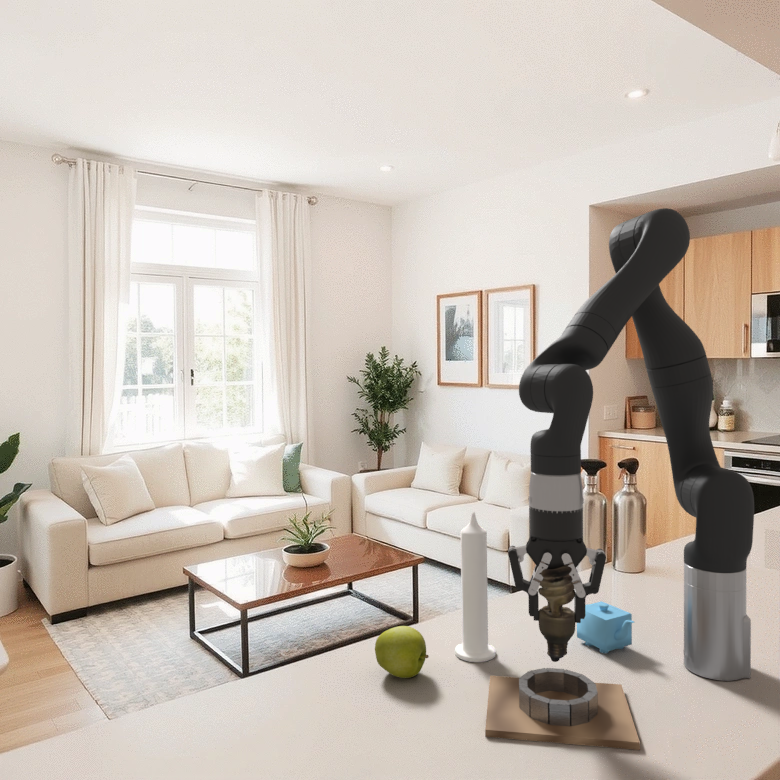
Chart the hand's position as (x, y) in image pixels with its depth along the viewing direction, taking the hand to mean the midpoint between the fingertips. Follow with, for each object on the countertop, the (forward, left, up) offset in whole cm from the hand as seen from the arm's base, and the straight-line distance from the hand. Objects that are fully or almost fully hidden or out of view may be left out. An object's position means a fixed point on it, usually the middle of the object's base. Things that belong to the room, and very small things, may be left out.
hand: (556, 619), depth 97 cm
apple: (+24, -8, -14) cm, 29 cm away
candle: (+13, -18, -14) cm, 26 cm away
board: (0, 0, -14) cm, 14 cm away
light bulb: (0, 0, -6) cm, 6 cm away
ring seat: (0, 0, -14) cm, 14 cm away
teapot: (-10, -24, -14) cm, 29 cm away
